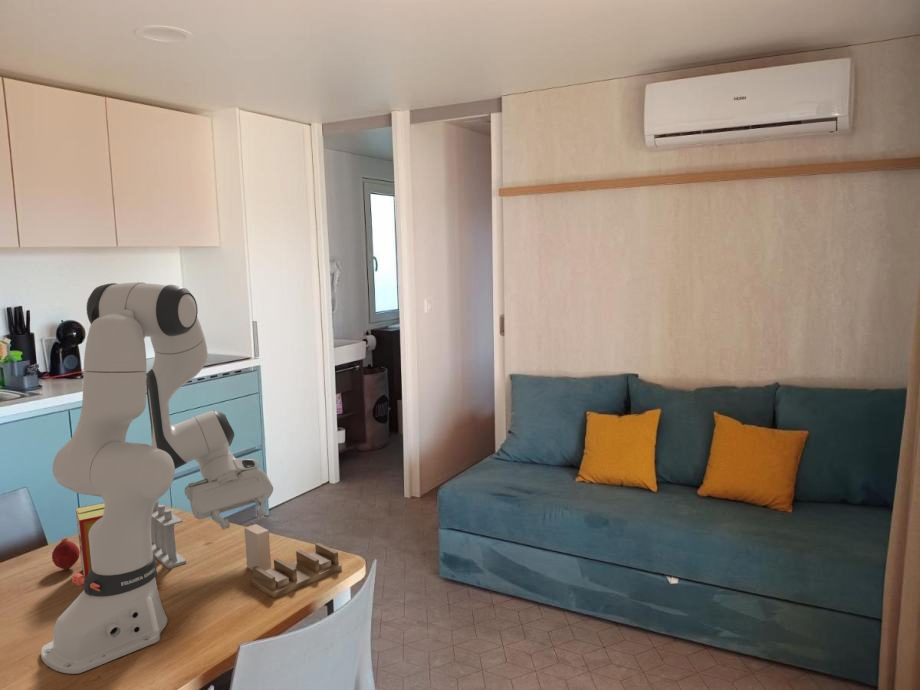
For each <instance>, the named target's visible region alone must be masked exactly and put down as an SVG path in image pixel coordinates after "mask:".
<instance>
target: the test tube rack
mask: <svg viewBox="0 0 920 690" xmlns="http://www.w3.org/2000/svg"><path fill="white" fill-rule="evenodd" d="M181 523H183V520H182V518H179V517H178V516H177V515H175V514H174V513H173V512H172V510H171V508H170V509H167V508H166V506H165V504H160V502H159V500H158V501H157V502H156V504H155V507H154V510H153V513H152V518H151V539H152V553H153V555H154V556H155V557H156V558H155V559H156V560H157V561H159V563H161V564H162V565H163V566H164V567H165V568H166V569H172V568H176V567H178V566H181V565H184V563H185V564H187V560H186V559H185V558H184V557H183V556H181V555H180V554H179V553H178V552H177V550H176V549H177V548H176V536H175V534H176V533H175V525H177V524H181Z"/></svg>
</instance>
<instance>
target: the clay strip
mask: <svg viewBox="0 0 920 690" xmlns="http://www.w3.org/2000/svg"><path fill="white" fill-rule="evenodd" d="M243 530H244V541H245V543H244V544H245V556H246V567H247V568H248V569H249V568H250V569H249V570H251V571H253V567H255V566H258V567H259V568H261V569H263V570H264V571H265V570H268V569H271V568H272V563H271V562H272V559H271V558H272V557H271V548H270V547H271V546H270V530H269V529H267V528H265V527H263V526H261V525H259V524H257V523H254V524H252V525H249V526H246V527H244V529H243Z"/></svg>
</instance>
